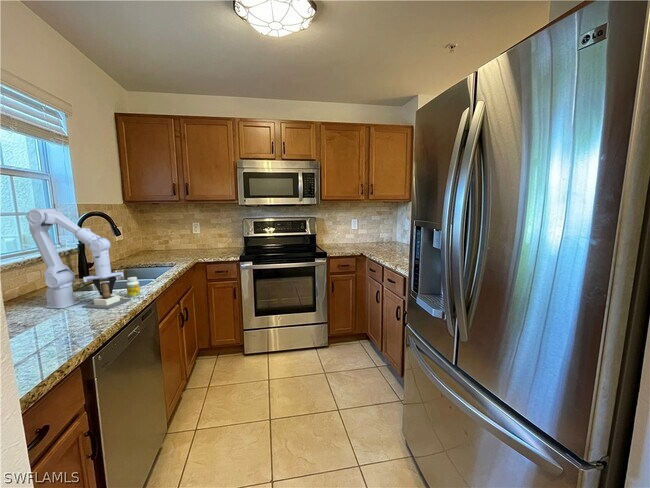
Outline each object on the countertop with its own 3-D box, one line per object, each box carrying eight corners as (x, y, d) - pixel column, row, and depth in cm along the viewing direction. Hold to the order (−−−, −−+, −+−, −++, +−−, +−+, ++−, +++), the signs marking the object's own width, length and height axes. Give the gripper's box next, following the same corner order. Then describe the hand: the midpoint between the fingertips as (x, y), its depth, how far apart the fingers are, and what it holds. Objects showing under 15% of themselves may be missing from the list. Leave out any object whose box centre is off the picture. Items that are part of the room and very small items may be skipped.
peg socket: (82, 307, 133) (81, 300, 133) (106, 298, 145) (105, 292, 144) (108, 309, 130) (107, 302, 130) (131, 300, 142) (130, 293, 142)
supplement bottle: (140, 294, 151) (138, 275, 150) (140, 297, 147) (138, 278, 145) (127, 296, 148) (125, 277, 147) (127, 299, 144) (125, 279, 142)
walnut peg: (100, 301, 136) (98, 284, 135) (107, 299, 139) (105, 282, 138) (106, 301, 135) (104, 284, 134) (113, 299, 139) (110, 282, 137)
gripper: (81, 269, 127) (86, 300, 129) (122, 264, 136) (126, 293, 138) (81, 266, 133) (86, 296, 135) (121, 262, 142) (124, 289, 144)
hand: (106, 294), depth 137 cm, fingers closed on walnut peg, 3 cm apart
